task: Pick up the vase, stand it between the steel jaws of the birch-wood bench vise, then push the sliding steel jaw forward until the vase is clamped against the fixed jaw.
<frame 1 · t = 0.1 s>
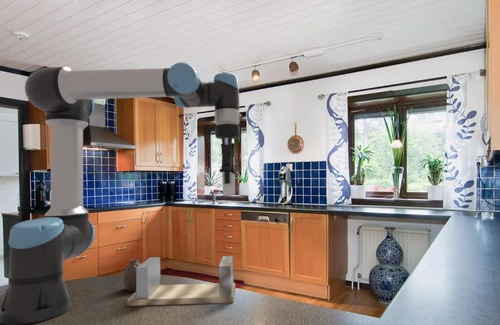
hand: (229, 195, 98), 28 cm above the countertop, fingers open, 13 cm apart
vase: (134, 289, 100), on the countertop
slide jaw: (149, 276, 93), point 6 cm above the countertop, slide at 0.0 cm
vise: (184, 296, 92), on the countertop
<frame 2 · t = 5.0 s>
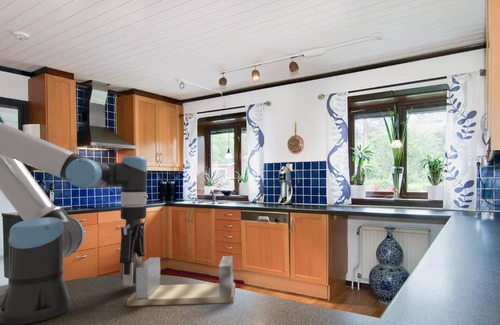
hand: (132, 281, 100), 2 cm above the countertop, fingers closed on vase, 7 cm apart
vase: (132, 283, 100), point 2 cm above the countertop, touching gripper
everything else where it was.
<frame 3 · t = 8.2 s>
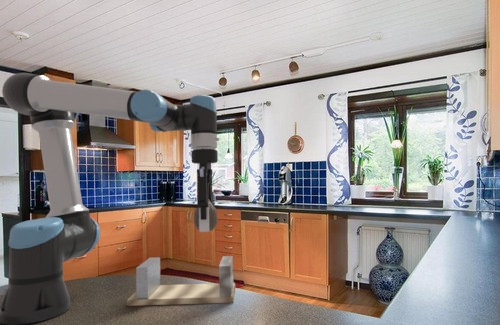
hand: (206, 229, 93), 18 cm above the countertop, fingers closed on vase, 7 cm apart
vase: (206, 231, 93), point 18 cm above the countertop, touching gripper
everything else where it was.
when the fingers open (3 cm above the countertop, at t = 11.3 s): vase drops 1 cm, resting on vise.
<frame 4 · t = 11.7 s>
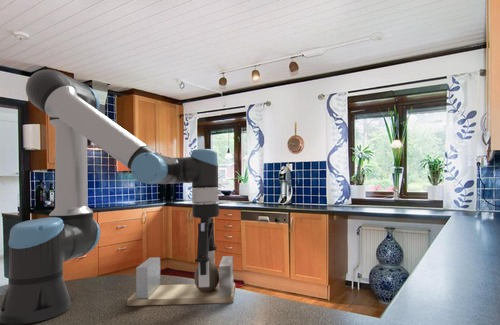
hand: (207, 279, 93), 4 cm above the countertop, fingers open, 12 cm apart
vase: (207, 290, 92), point 1 cm above the countertop, touching vise
everything else where it was.
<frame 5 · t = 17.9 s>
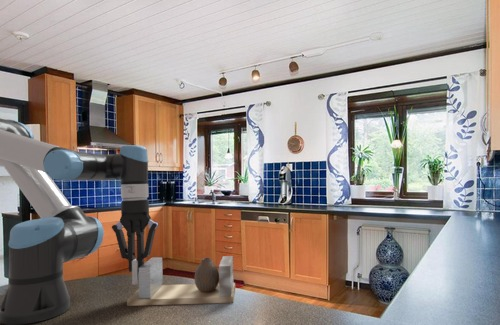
hand: (136, 283, 92), 4 cm above the countertop, fingers closed
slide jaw: (151, 276, 93), point 6 cm above the countertop, slide at 0.7 cm, touching gripper
everything else where it was.
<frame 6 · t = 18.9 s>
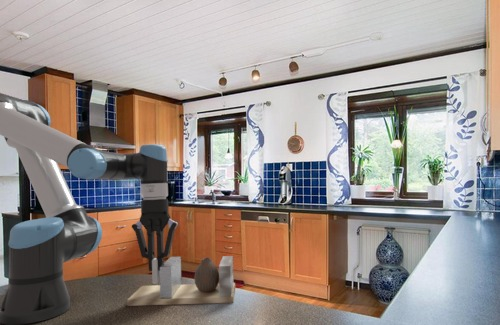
hand: (156, 282, 92), 4 cm above the countertop, fingers closed
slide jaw: (171, 275, 93), point 6 cm above the countertop, slide at 6.3 cm, touching gripper
everything else where it was.
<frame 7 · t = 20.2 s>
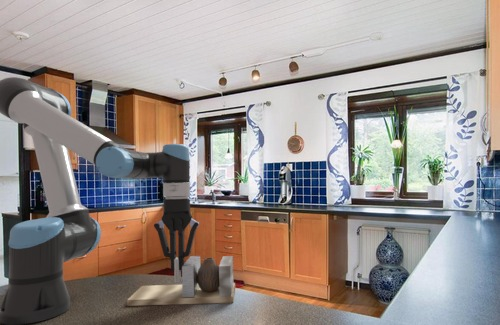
hand: (177, 281, 92), 4 cm above the countertop, fingers closed
vase: (209, 290, 92), point 1 cm above the countertop, touching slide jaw, vise
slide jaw: (192, 275, 93), point 6 cm above the countertop, slide at 12.2 cm, touching gripper, vase
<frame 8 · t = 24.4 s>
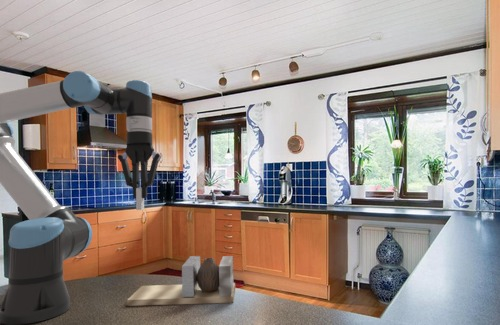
hand: (140, 209, 99), 24 cm above the countertop, fingers closed
vase: (209, 290, 92), point 1 cm above the countertop, touching vise
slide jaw: (191, 275, 93), point 6 cm above the countertop, slide at 12.1 cm
at the end: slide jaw slide at 12.1 cm; vase 1.1 cm from the target spot on the vise, point 1.3 cm above the vise's base; vase tilted 0° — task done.
